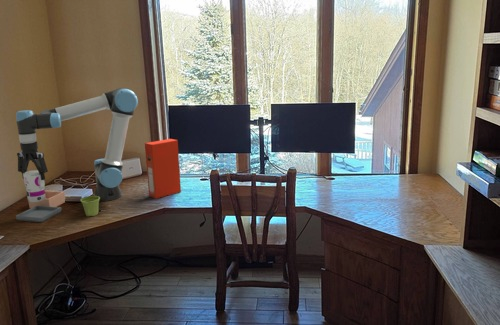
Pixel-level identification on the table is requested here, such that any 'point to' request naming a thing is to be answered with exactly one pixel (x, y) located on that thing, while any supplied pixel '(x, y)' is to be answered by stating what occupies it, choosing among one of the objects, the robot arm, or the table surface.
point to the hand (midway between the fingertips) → (34, 185)
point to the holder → (50, 199)
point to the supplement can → (34, 186)
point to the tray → (38, 213)
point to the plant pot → (90, 205)
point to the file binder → (163, 168)
